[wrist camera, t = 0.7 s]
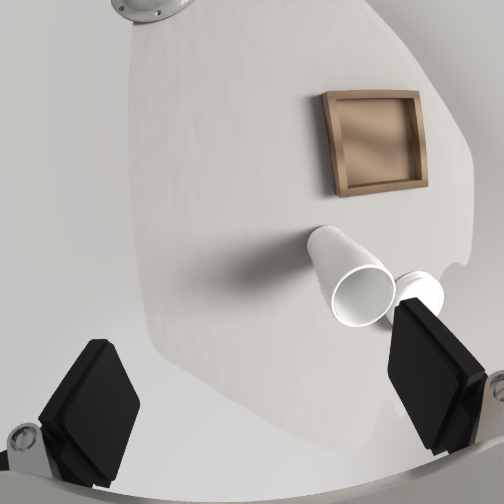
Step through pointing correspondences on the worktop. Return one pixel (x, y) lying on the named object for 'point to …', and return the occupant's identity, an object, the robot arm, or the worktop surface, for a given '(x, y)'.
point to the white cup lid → (417, 292)
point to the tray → (375, 141)
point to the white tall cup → (350, 278)
